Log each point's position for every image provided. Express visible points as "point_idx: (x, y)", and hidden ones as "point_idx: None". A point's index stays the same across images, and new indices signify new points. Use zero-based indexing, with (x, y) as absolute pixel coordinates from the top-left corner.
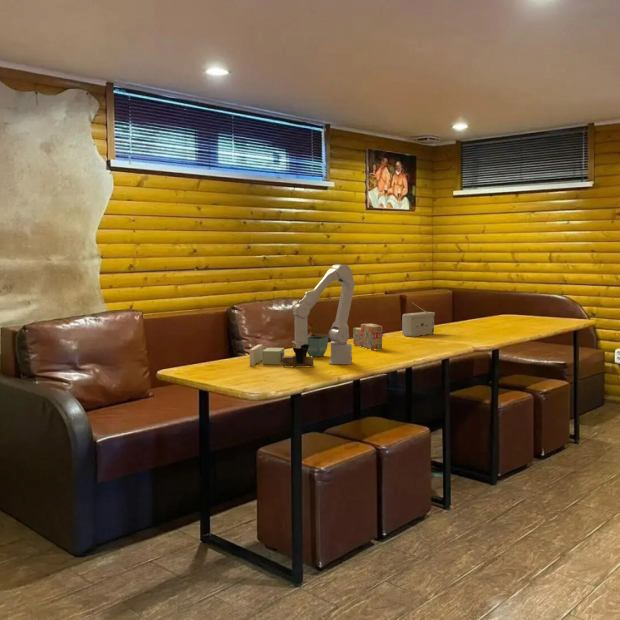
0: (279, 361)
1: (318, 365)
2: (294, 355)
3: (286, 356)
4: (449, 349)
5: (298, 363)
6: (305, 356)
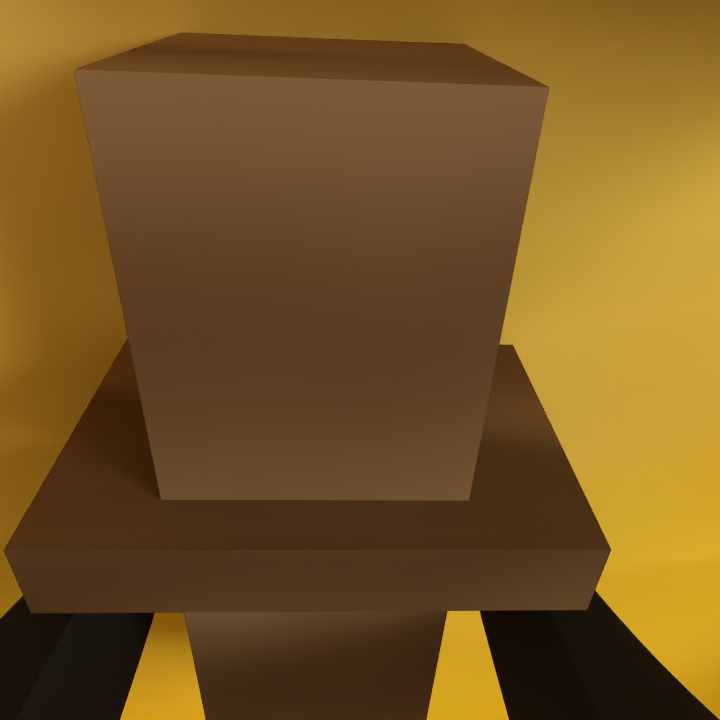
0: None
1: None
2: (240, 566)
3: (409, 234)
4: None
5: None
6: (414, 692)
